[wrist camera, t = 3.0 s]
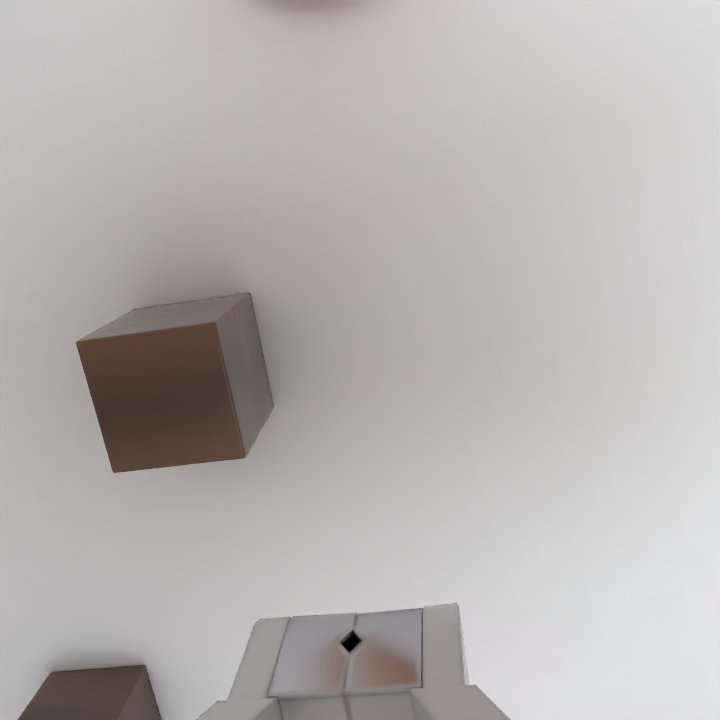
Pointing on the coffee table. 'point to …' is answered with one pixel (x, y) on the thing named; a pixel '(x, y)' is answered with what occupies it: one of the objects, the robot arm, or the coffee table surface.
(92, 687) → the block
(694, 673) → the coffee table surface
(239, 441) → the middle block
